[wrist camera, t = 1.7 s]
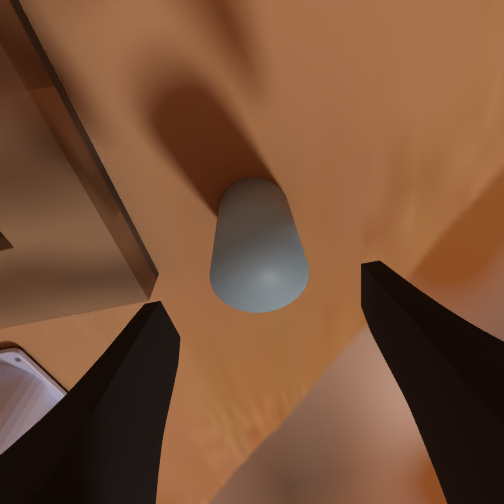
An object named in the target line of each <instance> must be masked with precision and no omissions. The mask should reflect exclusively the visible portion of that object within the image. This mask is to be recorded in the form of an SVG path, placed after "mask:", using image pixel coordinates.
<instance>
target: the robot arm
mask: <svg viewBox="0 0 504 504" xmlns="http://www.w3.org/2000/svg"><path fill="white" fill-rule="evenodd" d="M361 307H362V310H363V313H364V315H365V318H366V321H367V323H368V326H369V328H370V331H371V333H372V335H373V337H374V339H375V341H376V343H377V345H378V347H379V349H380V351H381V353H382V354H383V357H384V359H385V360H386V362H387V364H388V366H389V368H390V370H391V372H392V374H393V376H394V378H395V380H396V381H397V383H398V385H399V387H400V389H401V391H402V393H403V395H404V397H405V399H406V401H407V403H408V405H409V408H410V410H411V412H412V415H413V417H414V419H415V422H416V424H417V427H418V429H419V432H420V434H421V437H422V439H423V441H424V444H425V446H426V449H427V452H428V454H429V457H430V459H431V462H432V464H433V467H434V469H435V471H436V474H437V477H438V480H439V482H440V485H441V487H442V490H443V493H444V496H445V498H446V501H447V503H448V504H504V342H503V341H501V340H500V339H498V338H496V337H494V336H492V335H490V334H489V333H487V332H485V331H483V330H481V329H480V328H478V327H476V326H474V325H473V324H471V323H469V322H468V321H466V320H464V319H463V318H461V317H460V316H458V315H456V314H454V313H453V312H451V311H450V310H448V309H447V308H445V307H444V306H442V305H441V304H439V303H438V302H436V301H435V300H433V299H432V298H430V297H429V296H428V295H426V294H425V293H423V292H421V291H420V290H419V289H417V288H416V287H415V286H413V285H412V284H411V283H409V282H408V281H406V280H405V279H404V278H402V277H401V276H400V275H398V274H397V273H396V272H394V271H393V270H392V269H390V268H389V267H388V266H386V265H385V264H384V263H382V262H381V261H374V262H369V263H363V264H361ZM179 349H180V336H179V334H178V332H177V330H176V328H175V326H174V325H173V323H172V321H171V319H170V317H169V315H168V314H167V312H166V310H165V308H164V306H163V305H162V303H161V301H158V302H152V303H147V304H144V305H143V306H142V308H141V309H140V310H139V311H138V312H137V313H136V315H135V316H134V317H133V318H132V319H131V321H130V322H129V323H128V324H127V326H126V327H125V328H124V329H123V331H122V332H121V333H120V334H119V335H118V337H117V338H116V339H115V340H114V341H113V343H112V344H111V345H110V346H109V347H108V349H107V350H106V351H105V352H104V353H103V355H102V356H101V357H100V358H99V359H98V360H97V361H96V362H95V364H94V365H93V366H92V367H91V368H90V369H89V370H88V371H87V373H86V374H85V375H84V376H83V377H82V378H81V379H80V380H79V381H78V383H77V384H76V385H75V386H74V387H73V388H72V389H71V390H70V391H69V392H68V393H67V392H66V391H64V390H63V389H62V388H61V387H60V386H59V385H58V384H57V383H56V382H55V381H54V380H53V379H52V378H51V377H49V376H48V375H47V374H46V373H45V372H44V371H43V370H42V369H41V368H40V367H39V366H38V365H37V364H36V363H34V362H33V361H32V360H31V359H30V358H29V357H28V356H27V355H26V354H25V353H24V352H23V351H22V350H20V349H18V348H10V349H4V350H0V504H156V493H157V483H158V472H159V464H160V456H161V447H162V440H163V434H164V429H165V424H166V419H167V414H168V410H169V405H170V400H171V396H172V391H173V387H174V382H175V377H176V372H177V367H178V360H179Z"/></svg>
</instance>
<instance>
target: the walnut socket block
mask: <svg viewBox="0 0 504 504" xmlns="http://www.w3.org/2000/svg"><path fill="white" fill-rule="evenodd" d="M158 275H159V273H158V271H157V269H156V267H155V265H154V264H153V262H152V260H151V258H150V256H149V254H148V252H147V250H146V248H145V246H144V244H143V242H142V240H141V238H140V236H139V234H138V232H137V230H136V228H135V227H134V225H133V223H132V221H131V219H130V217H129V215H128V213H127V211H126V209H125V207H124V205H123V203H122V201H121V199H120V197H119V195H118V193H117V191H116V190H115V188H114V186H113V184H112V182H111V180H110V178H109V176H108V174H107V172H106V170H105V168H104V166H103V164H102V162H101V160H100V158H99V156H98V155H97V153H96V151H95V149H94V147H93V145H92V143H91V141H90V139H89V137H88V135H87V133H86V131H85V129H84V127H83V125H82V123H81V121H80V119H79V118H78V116H77V114H76V112H75V110H74V108H73V106H72V104H71V102H70V100H69V98H68V96H67V94H66V92H65V90H64V88H63V86H62V84H61V83H60V81H59V79H58V77H57V75H56V73H55V71H54V69H53V67H52V65H51V63H50V61H49V59H48V57H47V55H46V53H45V51H44V49H43V47H42V46H41V44H40V42H39V40H38V38H37V36H36V34H35V32H34V30H33V28H32V26H31V24H30V22H29V20H28V18H27V16H26V14H25V12H24V10H23V9H22V7H21V5H20V3H19V1H18V0H0V329H1V328H6V327H11V326H17V325H22V324H27V323H33V322H38V321H43V320H49V319H54V318H59V317H65V316H70V315H75V314H81V313H86V312H91V311H97V310H102V309H107V308H113V307H118V306H123V305H129V304H134V303H139V302H145V301H149V299H150V296H151V294H152V291H153V288H154V285H155V283H156V280H157V277H158Z"/></svg>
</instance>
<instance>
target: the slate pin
mask: <svg viewBox="0 0 504 504" xmlns="http://www.w3.org/2000/svg"><path fill="white" fill-rule="evenodd" d="M308 278H309V267H308V263H307V260H306V257H305V254H304V250H303V247H302V244H301V241H300V238H299V235H298V232H297V229H296V226H295V223H294V219H293V216H292V213H291V210H290V207H289V204H288V201H287V198H286V196H285V194H284V192H283V191H282V190H281V188H279V187H278V186H277V185H276V184H275V183H273V182H271V181H269V180H266V179H263V178H246V179H242V180H240V181H237V182H236V183H234V184H232V185H231V186H230V187H229V188H228V189H227V190H226V191H225V193H224V194H223V196H222V198H221V200H220V204H219V211H218V218H217V225H216V232H215V240H214V247H213V254H212V261H211V268H210V282H211V285H212V288H213V290H214V292H215V293H216V295H217V296H218V297H219V298H220V299H221V300H222V301H223V302H225V303H226V304H228V305H229V306H231V307H233V308H236V309H238V310H242V311H246V312H255V313H259V312H269V311H273V310H277V309H280V308H282V307H284V306H286V305H288V304H290V303H291V302H293V301H294V300H295V299H296V298H297V297H298V296H299V295H300V294H301V293H302V292H303V290H304V288H305V287H306V284H307V282H308Z"/></svg>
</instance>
